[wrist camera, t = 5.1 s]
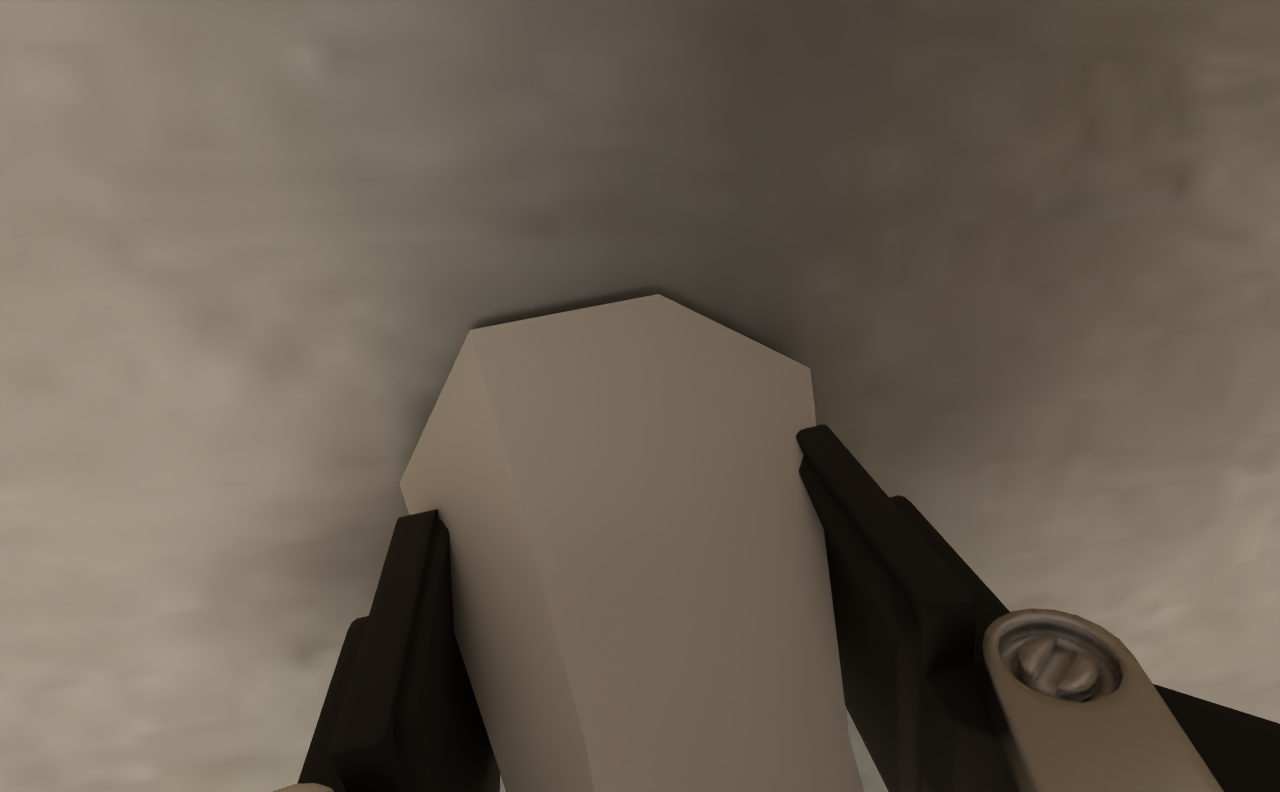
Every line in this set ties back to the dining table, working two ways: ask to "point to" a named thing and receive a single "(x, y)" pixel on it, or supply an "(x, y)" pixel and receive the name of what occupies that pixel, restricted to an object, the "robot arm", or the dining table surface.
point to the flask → (637, 555)
